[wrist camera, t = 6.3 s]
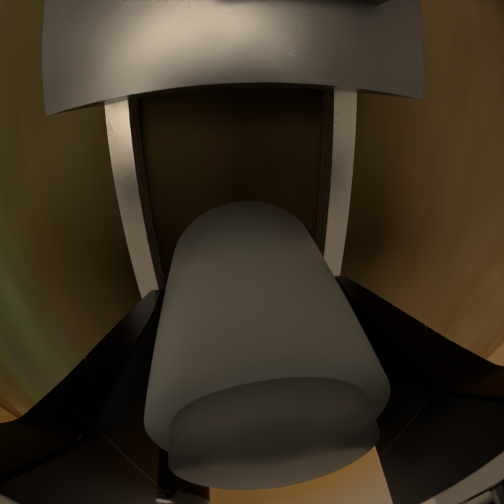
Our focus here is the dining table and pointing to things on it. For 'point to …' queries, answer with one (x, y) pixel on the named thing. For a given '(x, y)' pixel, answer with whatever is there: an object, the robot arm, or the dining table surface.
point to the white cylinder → (259, 357)
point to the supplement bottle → (177, 486)
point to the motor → (228, 81)
